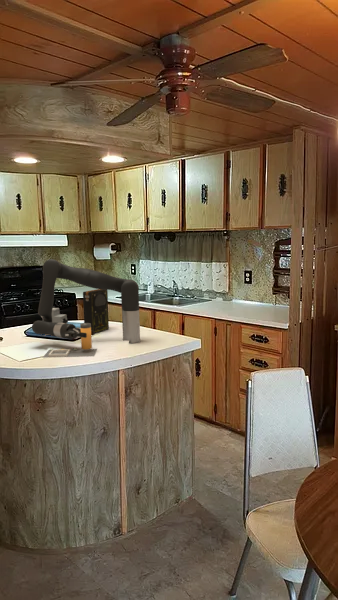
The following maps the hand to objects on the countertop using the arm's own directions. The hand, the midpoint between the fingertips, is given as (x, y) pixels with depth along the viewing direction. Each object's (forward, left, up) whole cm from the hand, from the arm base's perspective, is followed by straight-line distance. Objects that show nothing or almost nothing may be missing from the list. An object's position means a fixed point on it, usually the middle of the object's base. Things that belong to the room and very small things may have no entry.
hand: (90, 334), depth 223 cm
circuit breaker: (+26, -47, -10) cm, 55 cm away
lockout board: (+9, +2, -10) cm, 14 cm away
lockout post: (+2, -1, -7) cm, 8 cm away
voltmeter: (+3, -53, -10) cm, 55 cm away
